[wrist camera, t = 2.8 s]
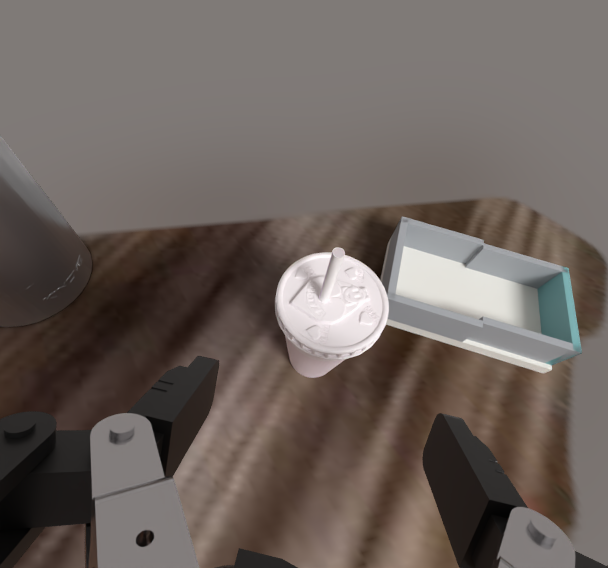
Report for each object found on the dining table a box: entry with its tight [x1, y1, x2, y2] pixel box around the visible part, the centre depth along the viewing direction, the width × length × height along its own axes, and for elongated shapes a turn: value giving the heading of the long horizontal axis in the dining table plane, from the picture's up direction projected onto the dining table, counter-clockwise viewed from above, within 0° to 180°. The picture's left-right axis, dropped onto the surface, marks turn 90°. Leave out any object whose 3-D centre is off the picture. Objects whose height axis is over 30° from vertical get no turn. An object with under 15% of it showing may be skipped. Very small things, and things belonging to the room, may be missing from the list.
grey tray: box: [380, 217, 582, 373], centre depth 29 cm, size 15×9×4 cm, turn 74°
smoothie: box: [275, 248, 389, 378], centre depth 20 cm, size 6×6×14 cm
